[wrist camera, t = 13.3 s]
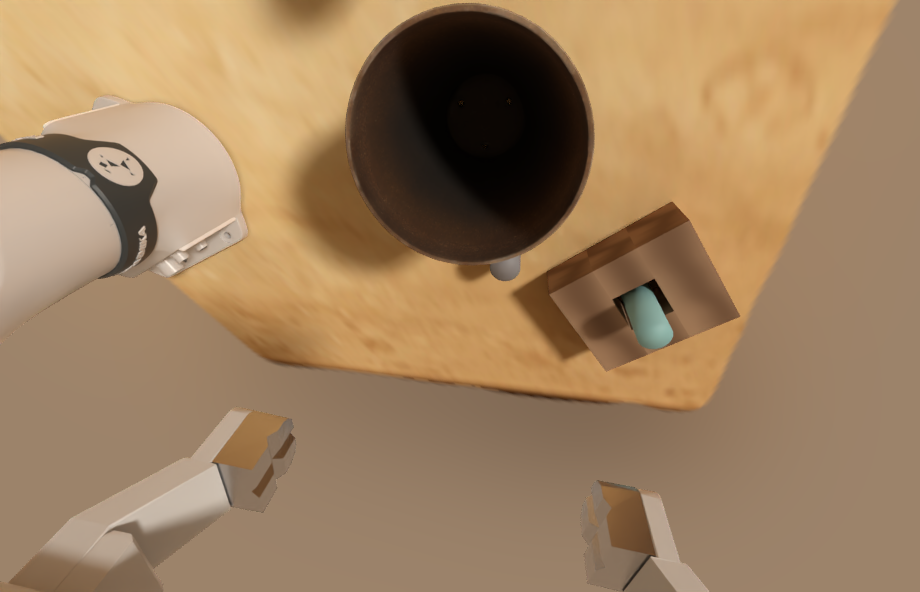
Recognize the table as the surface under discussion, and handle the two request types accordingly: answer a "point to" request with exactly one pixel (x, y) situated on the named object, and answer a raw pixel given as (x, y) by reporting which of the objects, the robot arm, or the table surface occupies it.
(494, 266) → the charcoal dowel
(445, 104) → the plant pot
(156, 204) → the robot arm
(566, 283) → the walnut block
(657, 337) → the teal dowel
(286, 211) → the table surface
